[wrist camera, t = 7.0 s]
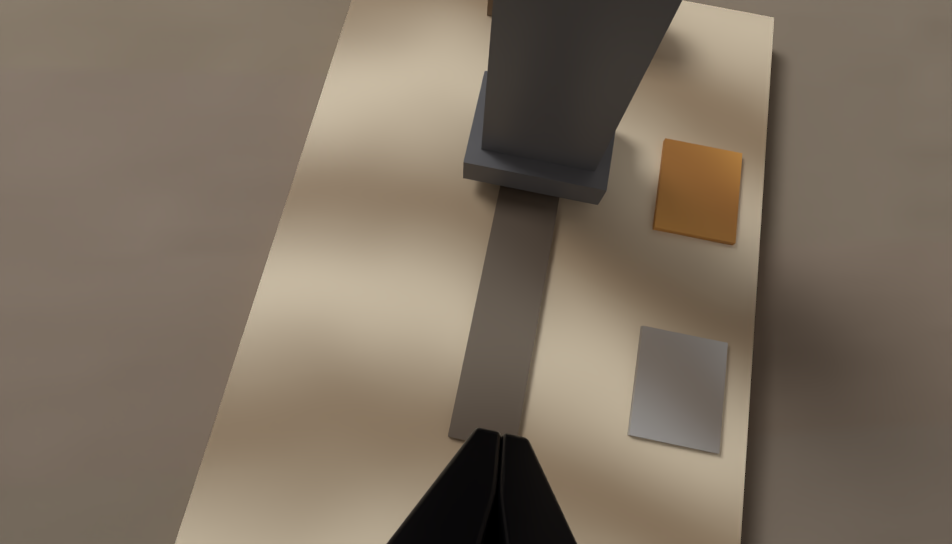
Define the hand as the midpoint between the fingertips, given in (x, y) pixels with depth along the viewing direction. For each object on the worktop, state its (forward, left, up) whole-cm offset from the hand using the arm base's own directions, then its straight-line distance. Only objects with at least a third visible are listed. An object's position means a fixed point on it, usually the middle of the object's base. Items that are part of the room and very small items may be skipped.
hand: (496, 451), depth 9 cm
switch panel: (+3, -5, -7) cm, 9 cm away
